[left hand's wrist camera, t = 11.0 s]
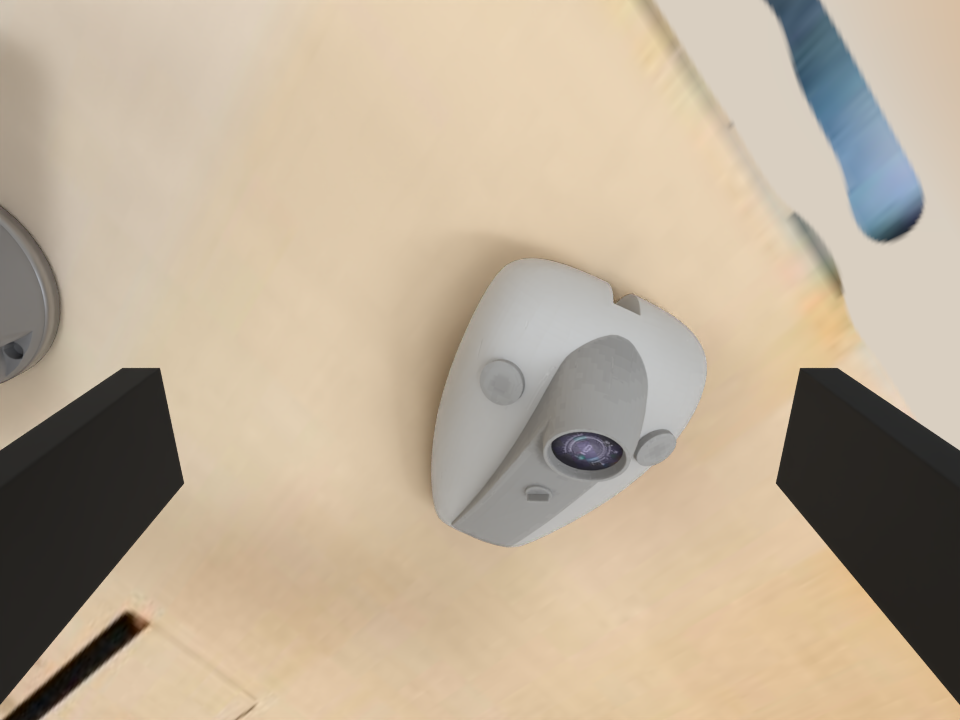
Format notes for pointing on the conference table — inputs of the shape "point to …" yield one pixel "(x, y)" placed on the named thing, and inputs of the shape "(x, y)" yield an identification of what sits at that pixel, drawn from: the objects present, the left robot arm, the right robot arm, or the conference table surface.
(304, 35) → the conference table surface
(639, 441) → the projector
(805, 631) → the conference table surface
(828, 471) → the left robot arm
